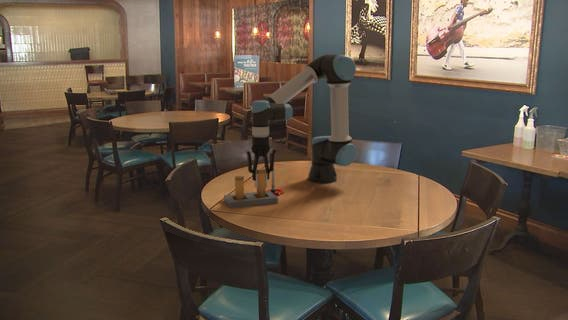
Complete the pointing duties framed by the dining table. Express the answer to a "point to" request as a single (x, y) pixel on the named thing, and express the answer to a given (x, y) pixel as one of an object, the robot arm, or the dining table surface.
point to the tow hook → (274, 187)
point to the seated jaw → (239, 187)
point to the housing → (250, 200)
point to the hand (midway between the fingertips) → (261, 186)
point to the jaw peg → (261, 183)
